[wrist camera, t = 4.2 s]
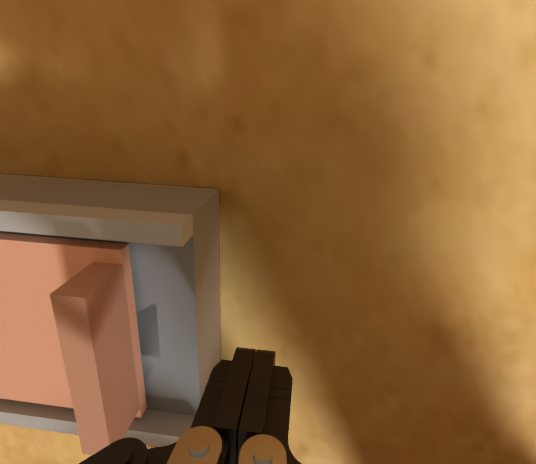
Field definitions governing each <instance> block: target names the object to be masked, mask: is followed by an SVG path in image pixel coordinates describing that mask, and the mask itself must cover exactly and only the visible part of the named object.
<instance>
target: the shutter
mask: <svg viewBox="0 0 536 464" xmlns="http://www.w3.org/2000/svg"><path fill="white" fill-rule="evenodd" d="M0 398H1V399H9V400H16V401H23V402H30V403H38V404H45V405H52V406H59V407H67V408H73V409H74V413H75V418H76V423H77V428H78V432H79V437H80V442H81V447H82V452H83V454H89V455H94V454H95V453H97V452H98V451H100V450H102V449H103V448H105V447H106V446H108V445H110V444H111V443H113V442H115V441H117V440H119V439H122V438H123V437H124V435H125V434H126V432H127V430H128V428H129V426H130V425H131V423H132V421H133V419H134V418H135V417H139V418H141V417H142V415H143V413H144V411H145V410H146V408H147V404H146V395H145V386H144V377H143V368H142V359H141V350H140V341H139V332H138V323H137V314H136V305H135V296H134V287H133V278H132V269H131V260H130V251H129V244H123V243H112V242H100V241H89V240H77V239H66V238H55V237H43V236H32V235H20V234H9V233H0Z"/></svg>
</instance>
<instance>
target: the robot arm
mask: <svg viewBox="0 0 536 464" xmlns="http://www.w3.org/2000/svg"><path fill="white" fill-rule="evenodd" d="M275 353H276V352H275V351H266V350H255V349H248V348H239V347H237V348H236V351H235V354H234V357H233V360H232V361H229V360H221V361H220V362H219V363H218V364H217V365H216V366H215V367H214V368H213V369H212V371H211V374H210V377H209V379H208V382H207V385H206V387H205V391H204V393H203V395H202V398H201V401H200V404H199V406H198V409H197V412H196V414H195V417H194V420H193V422H192V425H191V427H190V429H189V430H187V431H186V432H184V433H183V434H182V435H181V436H180V438H179V439H178V441H177V442H175V443H173V444H170V445H167V446H162V447H157V448H151V449H147V447H146V445H145V444H144V443H143V441H141V440H139V439H137V438H132V437H128V438H122V439H119V440H117V441H115V442H113V443H111V444H110V445H108V446H106V447H105V448H103V449H102V450H100V451H98V452H97V453H95V454H94V455H92V456H90V457H89V458H87V459H86V460H84V461H83V462H81V463H79V464H301V463H300V462H298V461H297V460H296V459H295V457H294V456H293V455H292V453H291V451H290V449H289V445H288V430H289V417H290V404H291V391H292V376H291V374H290V372H289V369H288V367H280V366H275Z"/></svg>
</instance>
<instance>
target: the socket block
mask: <svg viewBox="0 0 536 464" xmlns="http://www.w3.org/2000/svg"><path fill="white" fill-rule="evenodd" d="M0 233H9V234H20V235H32V236H43V237H55V238H66V239H77V240H89V241H100V242H112V243H123V244H129V251H130V260H131V269H132V278H133V287H134V296H135V305H136V314H137V323H138V332H139V341H140V350H141V359H142V368H143V377H144V386H145V395H146V404H147V408H146V410H145V411H144V413H143V415H142V417H141V418H139V417H135V418H134V419H133V421H132V423H131V425H130V426H129V428H128V430H127V432H126V434H125V435H124V437H123V438H128V437H132V438H137V439H139V440H141V441H143V443H144V444H145V445H151V446H158V447H162V446H167V445H170V444H173V443H175V442H177V441H178V439H179V438H180V436H181V435H182V434H183V433H184V432H186V431H187V430H189V429H190V427H191V425H192V422H193V420H194V417H195V414H196V412H197V409H198V406H199V404H200V401H201V398H202V395H203V393H204V391H205V387H206V385H207V382H208V379H209V377H210V374H211V371H212V369H213V368H214V367H215V366H216V365H217V364H218V363H219V362H220V361H221V338H220V243H219V189H213V188H199V187H185V186H170V185H156V184H142V183H128V182H113V181H99V180H85V179H70V178H56V177H42V176H27V175H13V174H0ZM0 424H6V425H13V426H20V427H27V428H34V429H41V430H48V431H54V432H61V433H68V434H75V435H79V432H78V428H77V423H76V418H75V413H74V409H73V408H67V407H59V406H52V405H45V404H38V403H30V402H23V401H16V400H9V399H1V398H0Z"/></svg>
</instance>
